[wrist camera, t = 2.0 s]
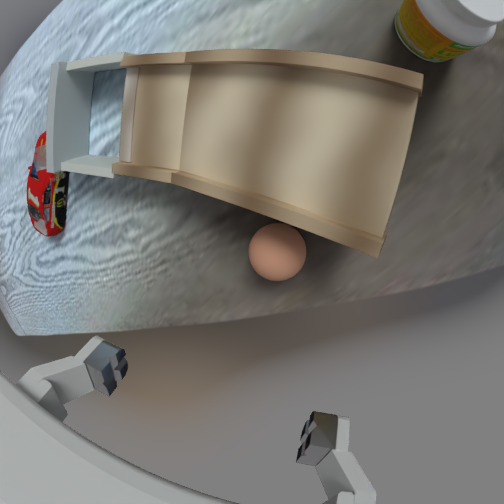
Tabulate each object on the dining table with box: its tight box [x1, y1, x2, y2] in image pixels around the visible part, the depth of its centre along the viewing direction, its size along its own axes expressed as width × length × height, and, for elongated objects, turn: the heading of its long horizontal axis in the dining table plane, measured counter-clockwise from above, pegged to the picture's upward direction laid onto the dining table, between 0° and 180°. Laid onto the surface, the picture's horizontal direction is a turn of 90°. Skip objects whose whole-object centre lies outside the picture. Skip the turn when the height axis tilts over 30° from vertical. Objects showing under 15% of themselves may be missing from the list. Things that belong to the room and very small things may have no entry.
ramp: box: [112, 49, 423, 258], centre depth 17 cm, size 20×10×8 cm, turn 82°
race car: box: [27, 131, 69, 236], centre depth 27 cm, size 13×5×4 cm, turn 158°
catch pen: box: [46, 52, 136, 178], centre depth 21 cm, size 8×10×5 cm
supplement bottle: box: [395, 0, 504, 62], centre depth 10 cm, size 5×5×10 cm
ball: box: [249, 223, 306, 281], centre depth 22 cm, size 4×4×4 cm
